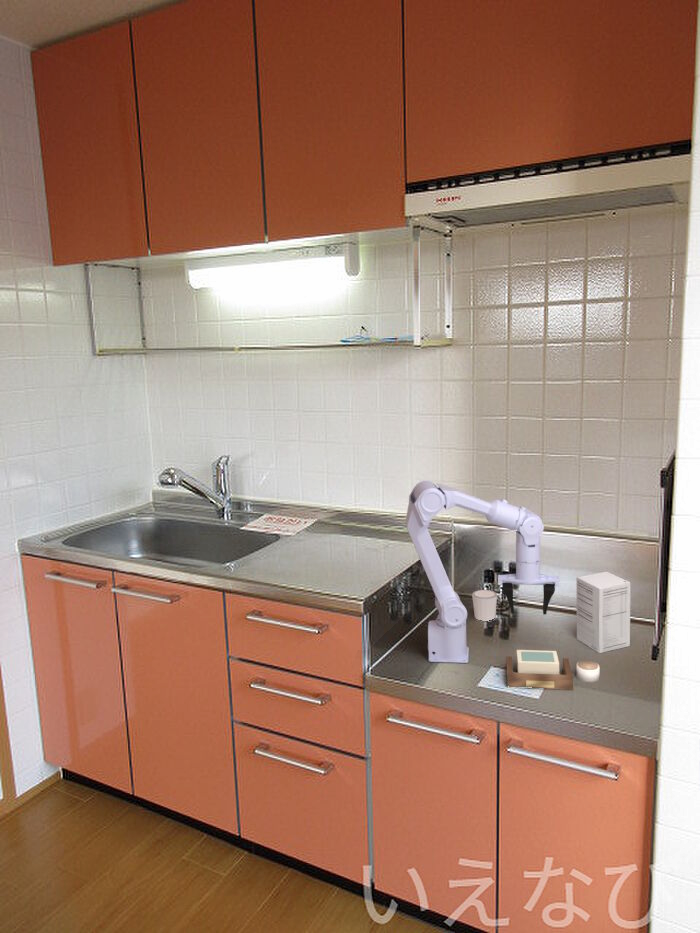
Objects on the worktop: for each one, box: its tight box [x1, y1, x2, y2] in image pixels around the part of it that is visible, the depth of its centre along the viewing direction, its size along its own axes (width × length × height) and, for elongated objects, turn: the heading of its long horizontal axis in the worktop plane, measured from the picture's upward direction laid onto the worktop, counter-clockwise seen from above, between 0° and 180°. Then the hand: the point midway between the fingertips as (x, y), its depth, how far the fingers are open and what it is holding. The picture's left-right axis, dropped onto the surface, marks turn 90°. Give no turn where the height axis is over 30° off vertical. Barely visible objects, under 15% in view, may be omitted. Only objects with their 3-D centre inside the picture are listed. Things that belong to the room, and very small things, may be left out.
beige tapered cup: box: [471, 589, 498, 622], centre depth 192 cm, size 7×7×7 cm
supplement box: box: [576, 571, 631, 654], centre depth 172 cm, size 10×9×17 cm
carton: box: [516, 649, 560, 675], centre depth 159 cm, size 9×6×4 cm
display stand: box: [505, 655, 574, 691], centre depth 157 cm, size 14×9×3 cm
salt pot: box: [575, 659, 601, 683], centre depth 157 cm, size 5×5×3 cm
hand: (528, 612), depth 170 cm, fingers open, 7 cm apart
